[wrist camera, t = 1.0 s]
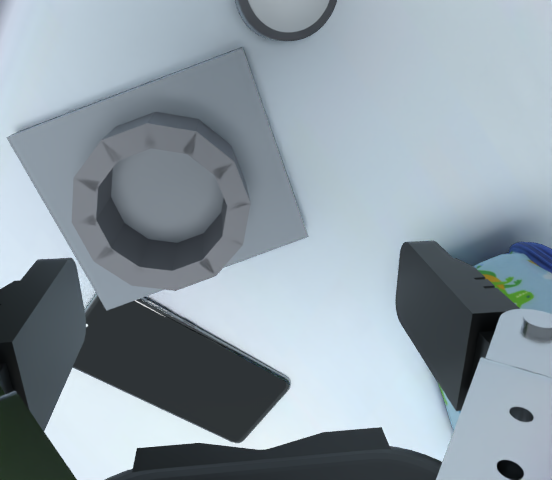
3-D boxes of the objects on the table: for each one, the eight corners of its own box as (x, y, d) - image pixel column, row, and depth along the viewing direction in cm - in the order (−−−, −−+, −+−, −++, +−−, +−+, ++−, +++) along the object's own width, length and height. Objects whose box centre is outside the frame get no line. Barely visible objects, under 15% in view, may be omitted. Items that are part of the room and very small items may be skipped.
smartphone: (239, 447, 39) (50, 359, 34) (238, 437, 40) (54, 350, 35) (295, 384, 38) (106, 280, 32) (293, 375, 38) (109, 273, 33)
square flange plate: (241, 47, 28) (247, 50, 23) (304, 228, 33) (320, 262, 28) (16, 132, 29) (-26, 153, 24) (110, 299, 33) (92, 346, 28)
